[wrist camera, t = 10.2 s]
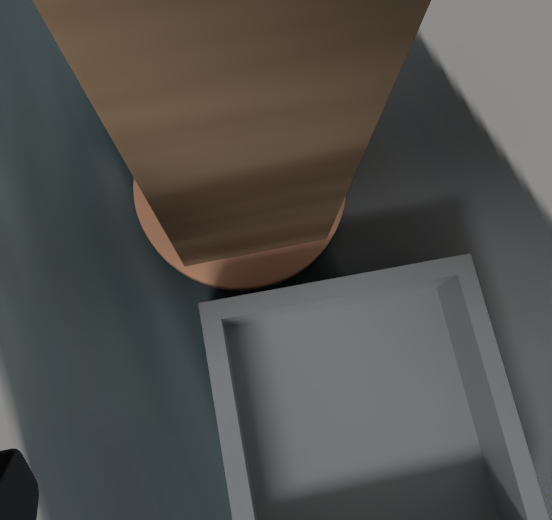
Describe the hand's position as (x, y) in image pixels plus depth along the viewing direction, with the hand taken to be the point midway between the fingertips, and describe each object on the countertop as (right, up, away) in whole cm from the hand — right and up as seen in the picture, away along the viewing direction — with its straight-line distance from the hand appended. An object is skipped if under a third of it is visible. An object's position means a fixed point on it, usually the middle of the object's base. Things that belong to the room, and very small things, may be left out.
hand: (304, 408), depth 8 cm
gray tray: (+2, -3, +9) cm, 10 cm away
